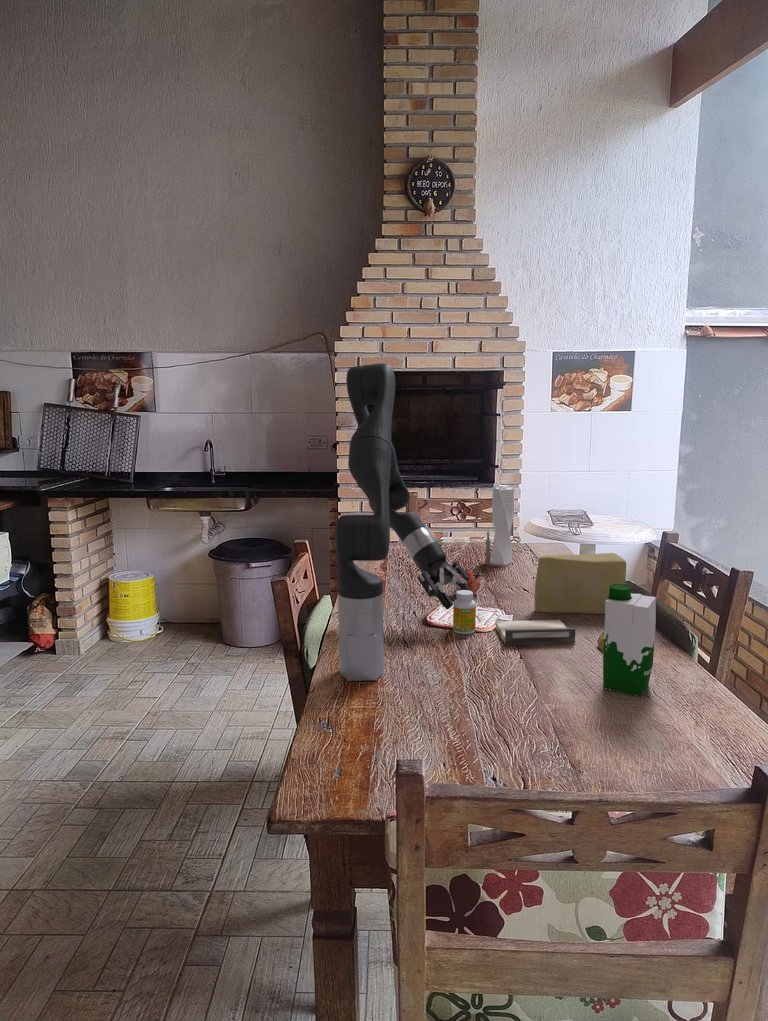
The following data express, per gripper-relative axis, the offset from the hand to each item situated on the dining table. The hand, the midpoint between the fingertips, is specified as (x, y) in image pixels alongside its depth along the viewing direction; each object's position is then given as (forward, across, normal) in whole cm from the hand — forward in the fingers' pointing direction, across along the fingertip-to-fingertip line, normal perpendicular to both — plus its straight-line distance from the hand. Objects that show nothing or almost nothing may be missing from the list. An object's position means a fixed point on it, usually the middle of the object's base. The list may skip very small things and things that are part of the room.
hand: (461, 603), depth 167 cm
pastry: (+29, +12, -19) cm, 37 cm away
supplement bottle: (+6, 0, +4) cm, 7 cm away
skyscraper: (-14, +60, +25) cm, 67 cm away
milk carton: (+36, -4, -26) cm, 44 cm away
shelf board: (+15, +8, -6) cm, 19 cm away
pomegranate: (-6, +24, +16) cm, 30 cm away
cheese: (+15, +32, -5) cm, 35 cm away
